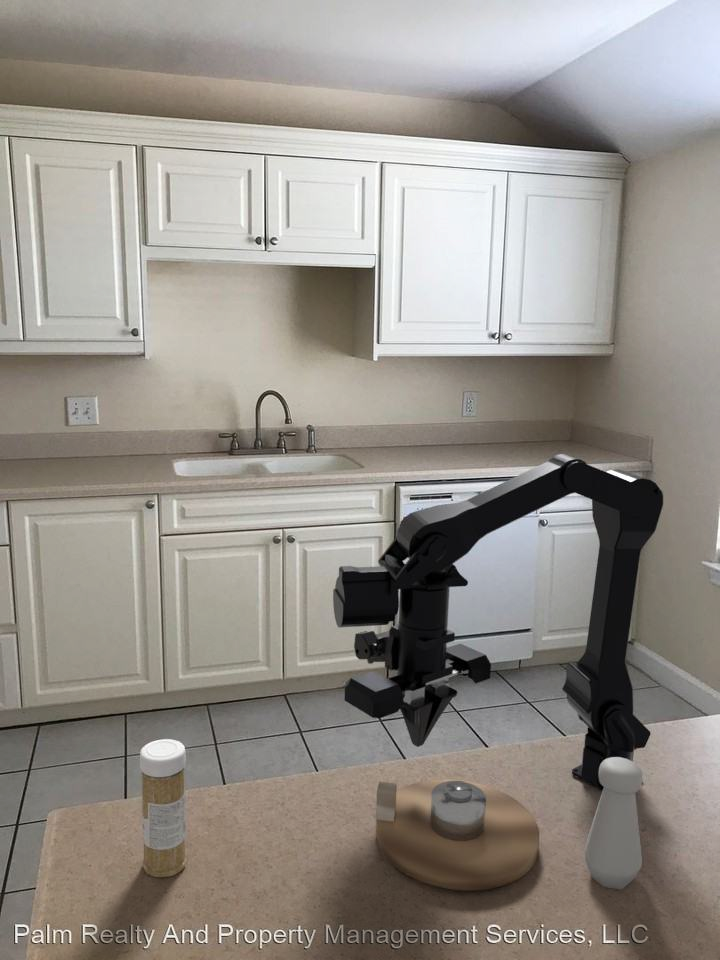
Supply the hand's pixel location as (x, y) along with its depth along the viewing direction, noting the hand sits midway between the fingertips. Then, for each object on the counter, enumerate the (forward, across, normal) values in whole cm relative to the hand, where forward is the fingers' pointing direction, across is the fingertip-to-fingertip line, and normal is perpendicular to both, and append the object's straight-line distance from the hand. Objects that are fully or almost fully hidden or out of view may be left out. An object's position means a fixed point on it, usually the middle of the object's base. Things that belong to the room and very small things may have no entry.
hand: (417, 744), depth 99 cm
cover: (+5, +2, +9) cm, 10 cm away
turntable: (+7, +2, +9) cm, 12 cm away
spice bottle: (+7, +30, -6) cm, 31 cm away
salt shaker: (+7, -7, +23) cm, 25 cm away
